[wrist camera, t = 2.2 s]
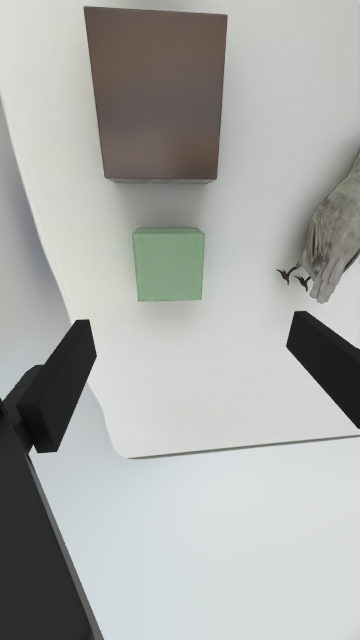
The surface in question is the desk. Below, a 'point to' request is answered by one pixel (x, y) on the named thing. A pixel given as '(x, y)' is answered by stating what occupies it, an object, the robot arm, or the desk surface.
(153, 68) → the walnut block
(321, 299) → the decorative bird
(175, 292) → the green block
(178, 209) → the desk surface
